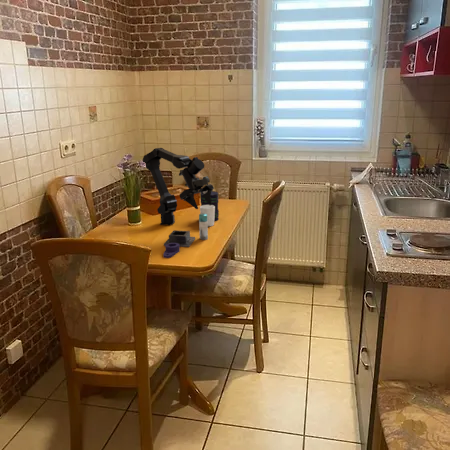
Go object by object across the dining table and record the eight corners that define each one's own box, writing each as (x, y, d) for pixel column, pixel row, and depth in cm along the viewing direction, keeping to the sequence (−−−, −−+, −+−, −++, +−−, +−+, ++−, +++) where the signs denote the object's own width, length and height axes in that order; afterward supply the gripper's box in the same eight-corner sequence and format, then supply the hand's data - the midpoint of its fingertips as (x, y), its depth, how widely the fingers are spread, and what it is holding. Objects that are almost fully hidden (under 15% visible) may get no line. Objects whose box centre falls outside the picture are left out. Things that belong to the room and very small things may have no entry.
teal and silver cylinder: (198, 239, 220) (198, 215, 217) (200, 237, 224) (200, 213, 221) (206, 240, 220) (206, 216, 216) (208, 237, 224) (208, 213, 220)
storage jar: (219, 217, 258) (219, 191, 254) (217, 222, 249) (217, 195, 244) (202, 216, 259) (201, 191, 255) (199, 221, 250) (198, 195, 245)
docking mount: (163, 245, 213) (163, 236, 211) (171, 237, 224) (170, 228, 223) (188, 247, 210) (188, 237, 209) (195, 238, 222) (194, 229, 220)
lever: (168, 248, 209) (167, 242, 208) (181, 249, 208) (181, 243, 207) (159, 258, 198) (159, 251, 197) (173, 259, 197) (173, 252, 196)
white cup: (217, 223, 247) (216, 205, 244) (212, 227, 240) (212, 208, 237) (203, 222, 249) (202, 204, 246) (198, 226, 242) (197, 208, 239)
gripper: (185, 173, 214) (199, 203, 212) (213, 168, 227) (226, 196, 225) (173, 185, 222) (186, 213, 220) (200, 179, 235) (214, 206, 233)
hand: (204, 207), depth 224 cm, fingers open, 9 cm apart
